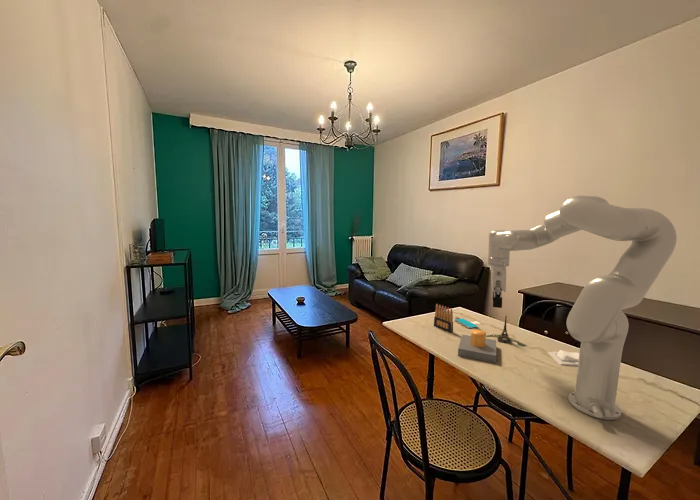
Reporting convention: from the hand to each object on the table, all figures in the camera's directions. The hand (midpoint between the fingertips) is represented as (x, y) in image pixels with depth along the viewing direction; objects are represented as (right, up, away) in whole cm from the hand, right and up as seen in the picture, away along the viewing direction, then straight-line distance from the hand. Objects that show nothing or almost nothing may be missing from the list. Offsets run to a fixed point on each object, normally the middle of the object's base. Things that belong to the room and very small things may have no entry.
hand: (497, 304), depth 123 cm
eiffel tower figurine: (+12, -21, +18) cm, 30 cm away
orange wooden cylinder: (-5, -18, +7) cm, 20 cm away
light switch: (+29, -23, 0) cm, 37 cm away
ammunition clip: (-12, -18, +32) cm, 38 cm away
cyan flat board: (+4, -18, +39) cm, 43 cm away
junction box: (-5, -21, +7) cm, 23 cm away
